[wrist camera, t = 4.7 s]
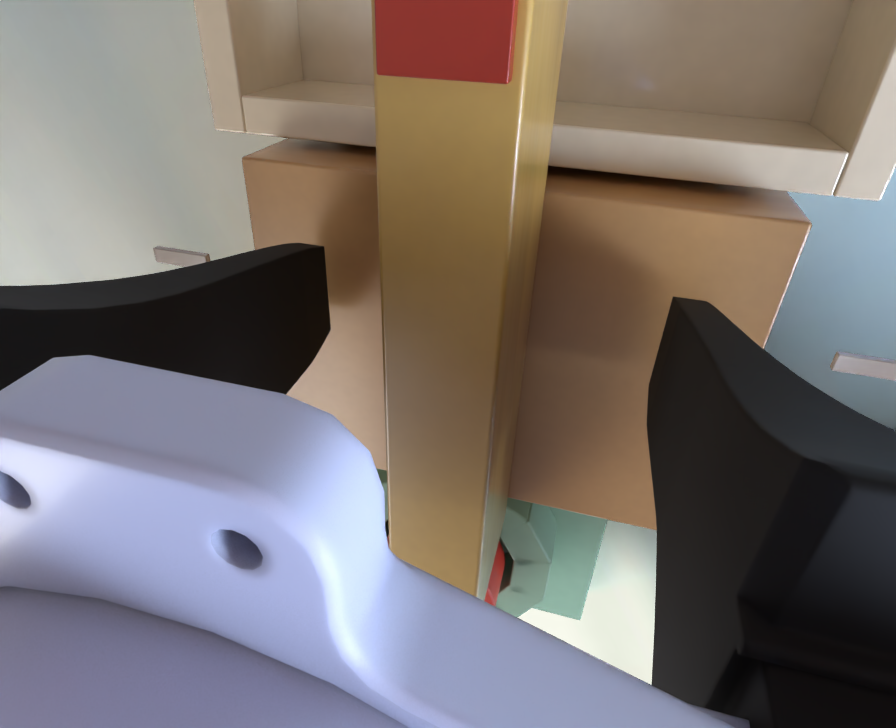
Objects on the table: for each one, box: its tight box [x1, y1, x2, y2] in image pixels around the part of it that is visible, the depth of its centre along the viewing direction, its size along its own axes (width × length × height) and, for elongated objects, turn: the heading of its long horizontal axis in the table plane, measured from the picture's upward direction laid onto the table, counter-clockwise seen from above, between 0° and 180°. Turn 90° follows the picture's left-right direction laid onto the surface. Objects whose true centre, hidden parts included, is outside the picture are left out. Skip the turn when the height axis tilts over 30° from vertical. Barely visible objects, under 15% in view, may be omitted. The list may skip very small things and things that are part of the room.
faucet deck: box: [154, 138, 896, 530], centre depth 14 cm, size 16×16×5 cm
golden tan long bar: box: [371, 0, 568, 601], centre depth 11 cm, size 12×2×4 cm, turn 179°
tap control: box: [376, 468, 607, 620], centre depth 21 cm, size 10×8×3 cm
